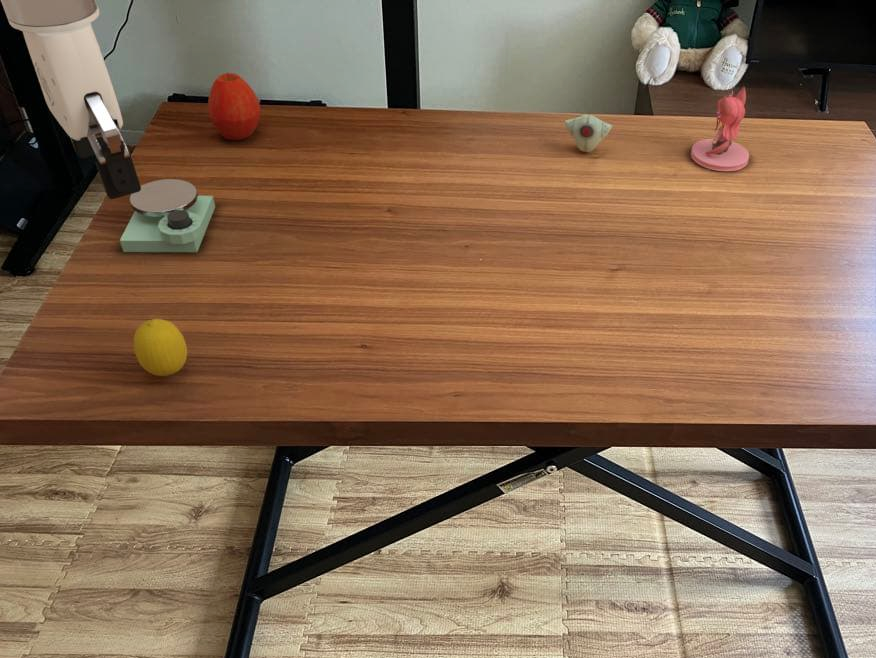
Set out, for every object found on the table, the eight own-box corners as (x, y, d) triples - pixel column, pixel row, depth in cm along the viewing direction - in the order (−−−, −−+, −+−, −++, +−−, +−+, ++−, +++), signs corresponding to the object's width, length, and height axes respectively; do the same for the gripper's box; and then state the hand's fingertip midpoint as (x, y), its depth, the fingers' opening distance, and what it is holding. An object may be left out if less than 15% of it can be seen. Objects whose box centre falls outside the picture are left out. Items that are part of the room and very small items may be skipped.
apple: (267, 144, 144) (255, 81, 137) (215, 149, 142) (201, 86, 135) (262, 122, 150) (251, 60, 143) (212, 127, 148) (198, 64, 140)
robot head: (610, 149, 148) (614, 112, 144) (608, 161, 145) (612, 123, 141) (563, 144, 149) (566, 106, 144) (560, 156, 146) (563, 117, 141)
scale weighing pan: (145, 223, 120) (143, 218, 119) (121, 195, 125) (120, 190, 124) (208, 204, 124) (206, 199, 123) (183, 177, 129) (181, 172, 128)
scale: (202, 255, 121) (196, 234, 118) (121, 255, 120) (114, 233, 118) (221, 206, 130) (216, 186, 128) (146, 206, 129) (140, 185, 127)
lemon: (196, 357, 106) (180, 304, 100) (190, 387, 102) (174, 334, 96) (148, 360, 105) (129, 307, 99) (141, 391, 101) (121, 338, 95)
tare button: (188, 230, 119) (185, 221, 118) (167, 230, 119) (164, 220, 118) (193, 219, 121) (190, 210, 120) (172, 219, 121) (169, 209, 120)
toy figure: (713, 138, 153) (727, 71, 144) (759, 159, 148) (775, 91, 140) (679, 155, 148) (690, 87, 139) (724, 178, 143) (739, 108, 135)
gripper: (-20, -21, 81) (47, 149, 93) (30, 42, 71) (98, 223, 83) (65, -35, 84) (118, 130, 96) (124, 23, 74) (175, 200, 86)
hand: (109, 173), depth 89 cm, fingers open, 9 cm apart
